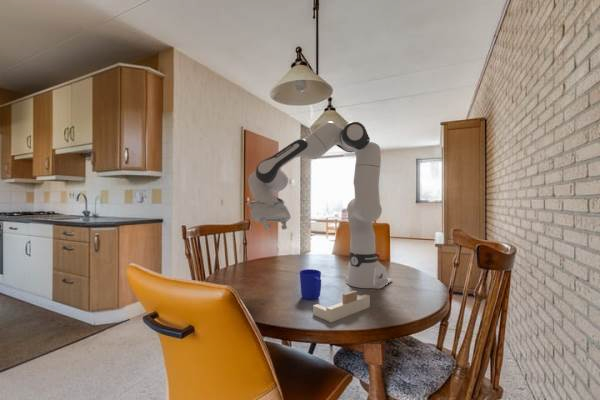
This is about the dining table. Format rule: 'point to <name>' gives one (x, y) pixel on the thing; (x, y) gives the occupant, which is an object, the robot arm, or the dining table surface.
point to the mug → (310, 283)
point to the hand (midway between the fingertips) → (277, 228)
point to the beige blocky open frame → (343, 307)
